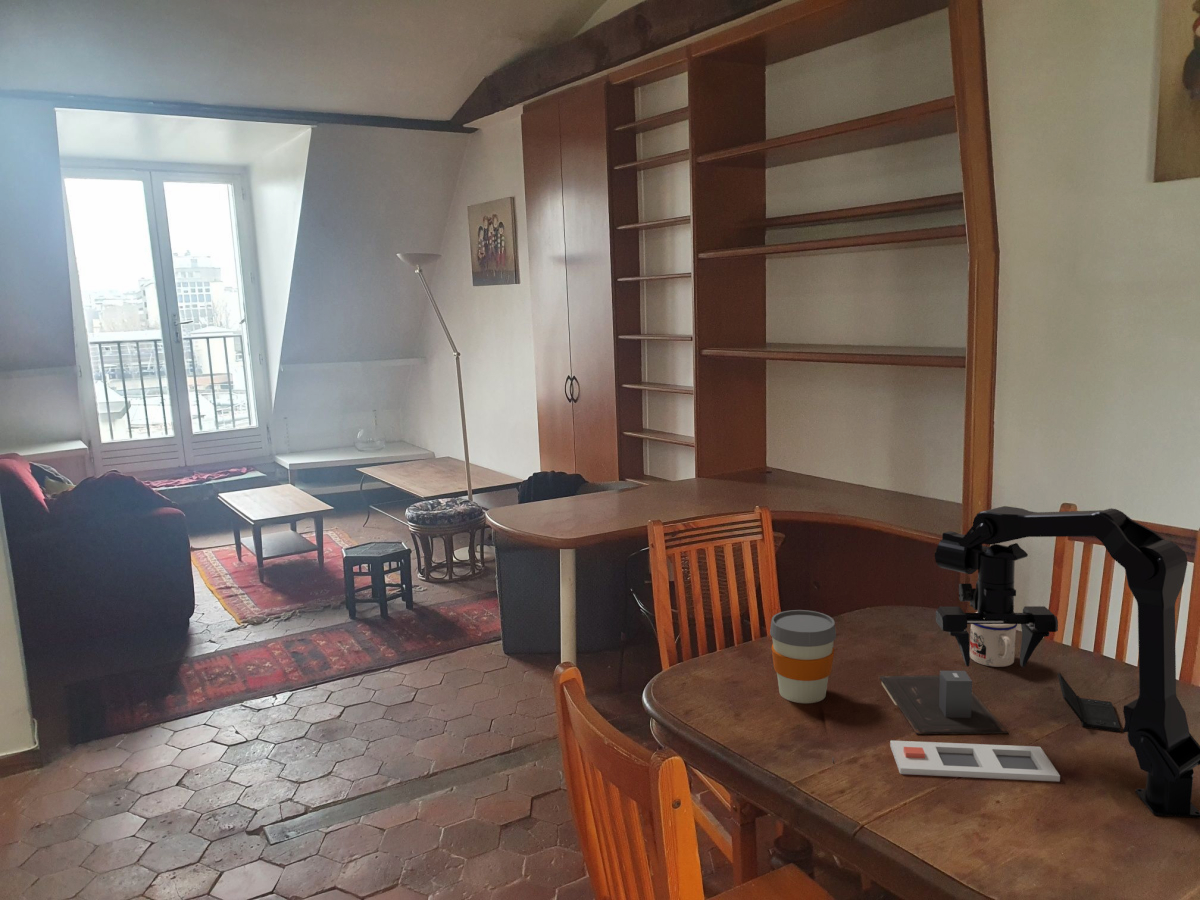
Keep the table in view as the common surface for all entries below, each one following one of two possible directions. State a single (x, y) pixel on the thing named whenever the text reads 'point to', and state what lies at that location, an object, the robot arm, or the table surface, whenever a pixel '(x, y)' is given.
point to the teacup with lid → (993, 644)
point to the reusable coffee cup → (802, 654)
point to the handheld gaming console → (1090, 709)
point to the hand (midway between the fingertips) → (994, 665)
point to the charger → (955, 694)
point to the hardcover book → (935, 707)
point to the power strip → (973, 760)
